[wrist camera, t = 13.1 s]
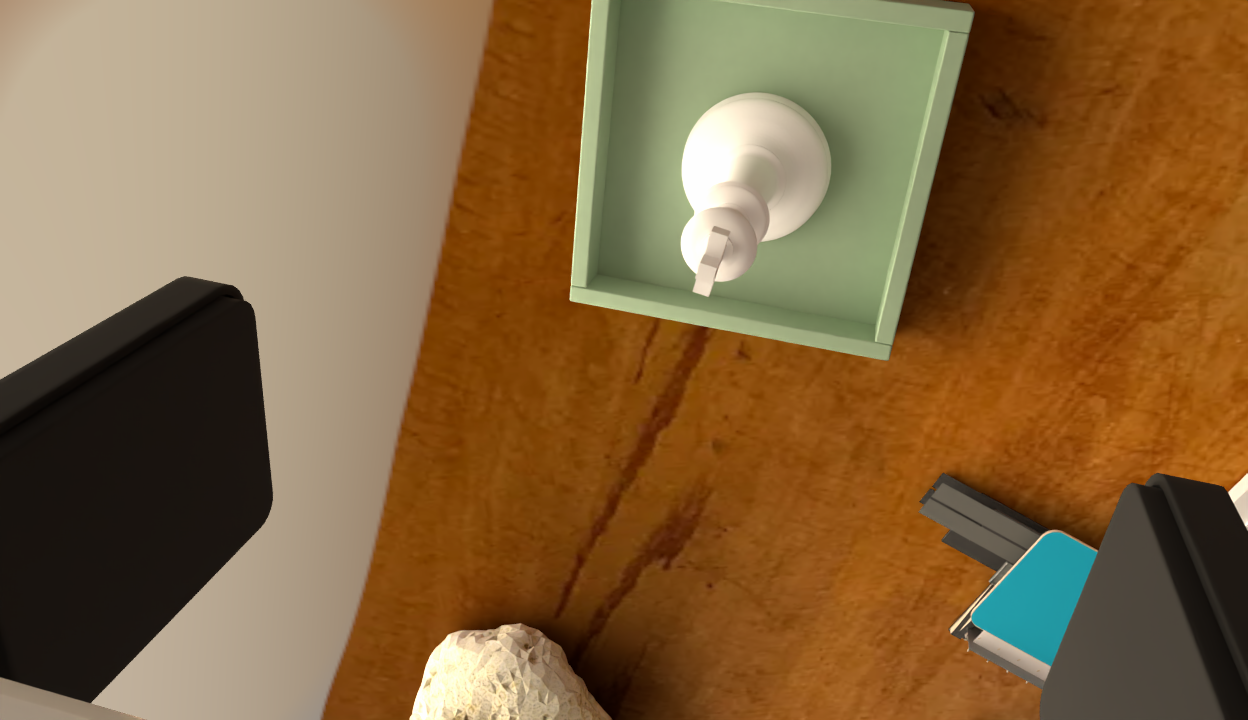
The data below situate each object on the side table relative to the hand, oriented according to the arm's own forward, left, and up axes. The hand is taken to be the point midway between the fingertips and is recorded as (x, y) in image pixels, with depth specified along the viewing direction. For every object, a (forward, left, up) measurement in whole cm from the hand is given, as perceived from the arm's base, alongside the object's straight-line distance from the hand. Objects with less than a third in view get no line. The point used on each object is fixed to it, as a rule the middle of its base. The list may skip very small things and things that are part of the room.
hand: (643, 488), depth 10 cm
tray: (+3, -1, -24) cm, 24 cm away
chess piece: (+3, -1, -24) cm, 24 cm away
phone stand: (+17, +17, -24) cm, 34 cm away
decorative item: (+31, -8, -24) cm, 40 cm away
